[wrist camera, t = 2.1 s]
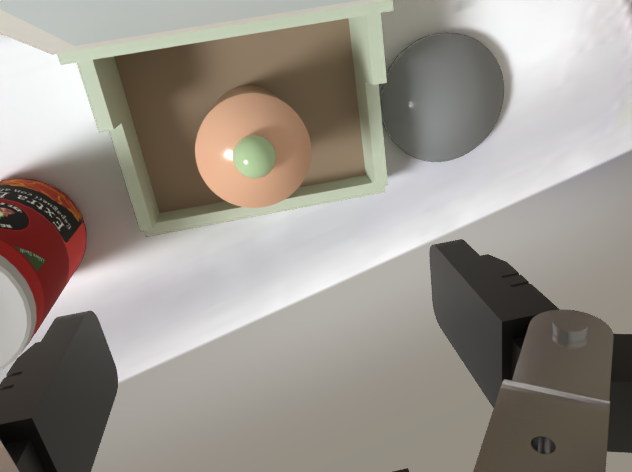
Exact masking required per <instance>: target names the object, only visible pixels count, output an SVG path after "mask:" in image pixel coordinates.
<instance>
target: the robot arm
mask: <svg viewBox="0 0 632 472" xmlns="http://www.w3.org/2000/svg"><path fill="white" fill-rule="evenodd" d="M430 270H431V285H432V301H433V307H434V312H435V316H436V319H437V322H438V324H439V326H440V328H441V329H442V331H443V332H444V334H445V335H446V337H447V338H448V340H449V341H450V343H451V344H452V346H453V347H454V349H455V350H456V352H457V353H458V355H459V356H460V358H461V359H462V361H463V362H464V364H465V365H466V367H467V368H468V370H469V372H470V373H471V375H472V376H473V378H474V379H475V381H476V382H477V384H478V385H479V387H480V388H481V390H482V391H483V393H484V394H485V396H486V397H487V399H488V400H489V402H490V403H491V405H492V406H493V408H494V410H493V412H492V416H491V418H490V422H489V425H488V428H487V431H486V434H485V437H484V440H483V443H482V446H481V449H480V452H479V455H478V458H477V461H476V465H475V468H474V471H473V472H605V471H606V456H607V451H610V452H628V453H630V452H631V453H632V334H613V332H612V329H611V328H610V327H609V326H608V325H607V324H606V323H605V322H604V321H602V320H601V319H599V318H597V317H595V316H593V315H590V314H588V313H584V312H579V311H575V310H560V309H558V308H557V307H556V306H555V305H554V304H553V303H552V302H551V301H550V300H548V299H547V298H546V297H545V296H544V295H543V294H542V293H541V292H539V291H538V290H537V289H536V288H535V287H534V286H533V285H531V284H529V283H528V281H527V280H526V279H525V278H524V277H523V276H522V275H519V273H518V272H517V271H516V270H515V269H514V268H513V267H512V266H510V265H509V264H508V263H507V262H505V261H503V260H500V259H498V258H495V257H493V256H491V255H482V256H480V255H479V254H478V253H477V252H476V251H474V250H473V249H472V248H471V247H470V246H469V245H468V244H467V243H466V242H465V241H464V240H462V239H460V240H455V241H450V242H446V243H440V244H435V245H432V246H431V247H430ZM117 388H118V377H117V370H116V366H115V363H114V360H113V358H112V355H111V352H110V350H109V347H108V344H107V342H106V339H105V336H104V333H103V331H102V328H101V325H100V323H99V320H98V318H97V316H96V315H95V313H94V312H92V311H87V312H82V313H76V314H71V315H66V316H61V317H57V318H56V319H55V320H54V321H53V323H52V325H51V326H50V328H49V330H48V331H47V333H46V334H45V336H44V338H43V339H42V341H41V342H38V343H35V344H34V345H33V346H31V347H30V348H29V349H28V350H27V351H25V352H24V353H23V354H22V355H21V356H20V357H18V358H17V359H16V361H15V363H14V364H13V366H12V367H11V369H10V370H9V372H8V373H7V377H6V378H4V379H3V381H2V382H1V384H0V472H91V469H92V466H93V463H94V460H95V457H96V454H97V451H98V448H99V445H100V442H101V439H102V436H103V433H104V430H105V427H106V424H107V421H108V417H109V415H110V411H111V408H112V405H113V402H114V399H115V396H116V393H117ZM394 472H409V470H408V469H403V470H398V471H394Z"/></svg>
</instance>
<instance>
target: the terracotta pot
mask: <svg viewBox="0 0 632 472" xmlns="http://www.w3.org/2000/svg"><path fill="white" fill-rule="evenodd" d="M195 157H196V163H197V166H198V170H199V172H200V174H201V176H202V178H203V180H204V181H205V183H206V184H207V186H208V187H209V188H210V189H211V190H212V191H213V192H214V193H215V194H216V195H217V196H219V197H220V198H222V199H223V200H225V201H227V202H229V203H231V204H234V205H237V206H241V207H247V208H261V207H267V206H271V205H274V204H276V203H279V202H281V201H283V200H285V199H286V198H287V197H289V196H290V195H291V194H293V193H294V192H295V191H296V190H297V189H298V187H299V186H300V185H301V183H302V182H303V180H304V179H305V177H306V175H307V172H308V169H309V166H310V161H311V142H310V137H309V134H308V131H307V129H306V127H305V125H304V123H303V121H302V120H301V118H300V117H299V115H298V114H297V113H296V112H295V110H294V109H293V108H292V107H291V106H289V105H288V104H287V103H286V102H284V101H283V100H281V99H280V98H279V97H278V96H277V95H276V94H274V93H273V92H272V91H270V90H268V89H266V88H264V87H261V86H256V85H243V86H238V87H236V88H233V89H231V90H229V91H228V92H226V93H225V94H224V95H223V96H222V97H221V98H220V99H219V100H218V101H217V103H216V104H215V106H214V107H213V108H212V109H211V110H210V111H209V112H208V113H207V115H206V116H205V118H204V120H203V121H202V123H201V126H200V128H199V131H198V134H197V138H196V144H195Z"/></svg>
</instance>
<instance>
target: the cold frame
mask: <svg viewBox="0 0 632 472" xmlns="http://www.w3.org/2000/svg"><path fill="white" fill-rule="evenodd" d="M390 11H394V8H393V0H388V1H382V2H375V3H369V4H363V5H357V6H351V7H344V8H338V9H332V10H326V11H319V12H313V13H307V14H301V15H295V16H288V17H282V18H276V19H270V20H263V21H257V22H251V23H245V24H239V25H232V26H226V27H220V28H214V29H207V30H201V31H195V32H189V33H183V34H176V35H170V36H164V37H158V38H151V39H145V40H139V41H133V42H127V43H120V44H114V45H108V46H102V47H95V48H89V49H83V50H77V51H71V52H64V53H58V54H57V55H58V58H59V61H60V64H61V65H63V64H70V63H76V62H77V65H78V68H79V72H80V75H81V78H82V81H83V84H84V87H85V90H86V94H87V97H88V100H89V103H90V106H91V109H92V112H93V115H94V119H95V122H96V125H97V128H98V131H99V132H104V131H109V132H110V135H111V139H112V142H113V145H114V148H115V151H116V155H117V158H118V161H119V164H120V168H121V171H122V174H123V177H124V180H125V184H126V187H127V190H128V193H129V197H130V200H131V203H132V206H133V209H134V213H135V216H136V219H137V222H138V226H139V229H140V231H145V234H146V237H148V236H153V235H158V234H164V233H169V232H174V231H180V230H185V229H190V228H196V227H201V226H206V225H212V224H217V223H222V222H228V221H233V220H238V219H244V218H249V217H254V216H260V215H265V214H271V213H276V212H281V211H287V210H292V209H297V208H303V207H308V206H313V205H319V204H324V203H329V202H335V201H340V200H345V199H351V198H356V197H361V196H367V195H372V194H377V193H383V192H385V186H386V185H388V179H387V169H386V158H385V147H384V137H383V126H382V115H381V105H380V94H379V84H383V83H387V77H386V66H385V54H384V43H383V32H382V20H381V13H384V12H390ZM243 85H256V86H261V87H264V88H266V89H268V90H270V91H272V92H273V93H274V94H276V95H277V96H278V97H279V98H280V99H281V100H283V101H284V102H286V103H287V104H288V105H289V106H291V107H292V108H293V109H294V110H295V112H296V113H297V114H298V115H299V117H300V118H301V120H302V121H303V123H304V125H305V127H306V129H307V131H308V134H309V137H310V142H311V161H310V166H309V169H308V172H307V175H306V177H305V179H304V180H303V182H302V183H301V185H300V186H299V187H298V189H297V190H296V191H295V192H294V193H293V194H291V195H290V196H289V197H287V198H286V199H285V200H283V201H281V202H279V203H276V204H274V205H271V206H267V207H261V208H247V207H241V206H237V205H234V204H231V203H229V202H227V201H225V200H223V199H222V198H220V197H219V196H217V195H216V194H215V193H214V192H213V191H212V190H211V189H210V188H209V187H208V186H207V184H206V183H205V181H204V180H203V178H202V176H201V174H200V172H199V170H198V166H197V163H196V157H195V144H196V138H197V134H198V131H199V128H200V126H201V123H202V121H203V120H204V118H205V116H206V115H207V113H208V112H209V111H210V110H211V109H212V108H213V107H214V106H215V104H216V103H217V101H218V100H219V99H220V98H221V97H222V96H223V95H224V94H225V93H226V92H228V91H229V90H231V89H233V88H236V87H238V86H243Z"/></svg>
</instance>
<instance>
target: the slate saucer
mask: <svg viewBox="0 0 632 472" xmlns="http://www.w3.org/2000/svg"><path fill="white" fill-rule="evenodd" d="M386 77H387V83H383V85H382V90H381V96H380V105H381V115H382V121H383V124H384V126H385V129H386V131H387V133H388V134H389V136H390V138H391V139H392V140H393V141H394V142H395V144H396V145H398V146H399V147H400V148H401V149H402V150H403V151H405V152H406V153H408V154H409V155H411V156H413V157H415V158H417V159H421V160H424V161H430V162H442V161H449V160H453V159H456V158H458V157H461V156H463V155H465V154H467V153H469V152H470V151H472V150H473V149H475V148H476V147H477V146H478V145H479V144H480V143H482V141H483V140H484V139H485V138H486V137H487V136H488V134H489V133H490V132H491V130H492V129H493V127H494V125H495V124H496V122H497V119H498V117H499V115H500V111H501V108H502V104H503V98H504V82H503V77H502V72H501V69H500V66H499V64H498V62H497V60H496V58H495V57H494V56H493V54H492V53H491V52H490V51H489V49H488V48H487V47H486V46H484V45H483V44H482V43H481V42H479V41H477V40H475V39H474V38H471V37H469V36H466V35H461V34H454V33H439V34H434V35H430V36H427V37H424V38H421V39H419V40H418V41H416V42H414V43H412V44H411V45H410V46H408V47H407V48H406V49H405V50H404V51H403V52H402V53H400V54H399V56H398V57H397V58H396V59H395V61H394V62H393V63H392V65H391V67H390V68H389V70H388V72H387V74H386Z"/></svg>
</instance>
